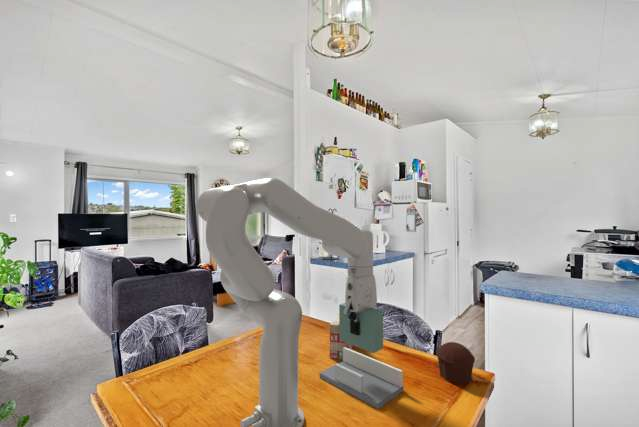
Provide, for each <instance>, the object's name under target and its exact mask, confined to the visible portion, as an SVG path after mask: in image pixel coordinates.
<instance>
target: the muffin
mask: <svg viewBox="0 0 639 427" xmlns="http://www.w3.org/2000/svg"><path fill="white" fill-rule="evenodd" d="M435 355H436V357H437V361H438V368H439V375H440V377H441V378H442V379H444V381H446V382H449V383H453V385H454V384H455V385H456V384H457V385H466V384H468V383H470V382H471V380H472V374H473V368H474V364H475V360H476V357H475V356H474V355H473V354H472V352H471V351H470V350H469V348H467V347H466V346H465V345H464V344H462V343H458V342H455V341H450V342H449V341H448V342H446V343H443V344H441V345H440V346H439V347H438V349H436V351H435Z"/></svg>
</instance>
